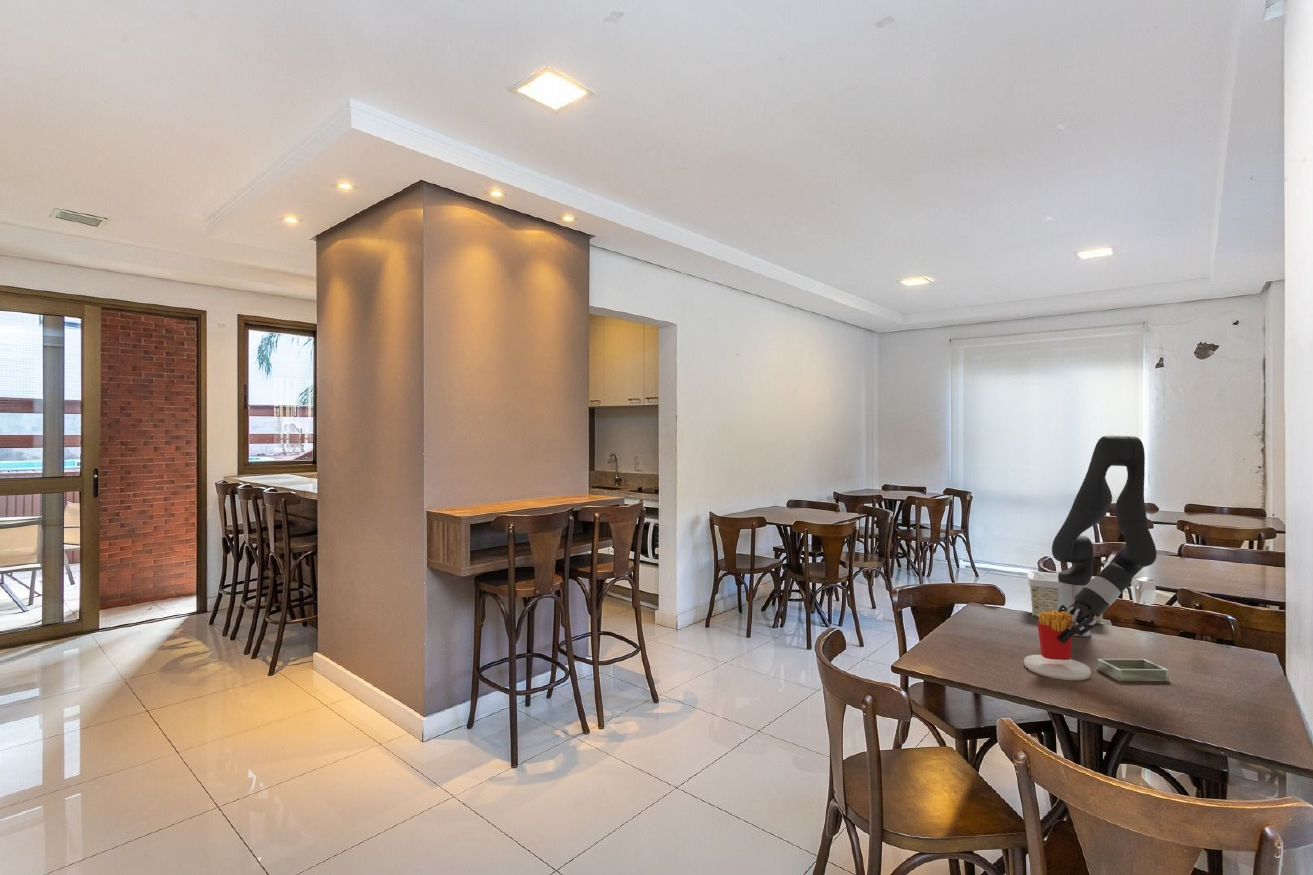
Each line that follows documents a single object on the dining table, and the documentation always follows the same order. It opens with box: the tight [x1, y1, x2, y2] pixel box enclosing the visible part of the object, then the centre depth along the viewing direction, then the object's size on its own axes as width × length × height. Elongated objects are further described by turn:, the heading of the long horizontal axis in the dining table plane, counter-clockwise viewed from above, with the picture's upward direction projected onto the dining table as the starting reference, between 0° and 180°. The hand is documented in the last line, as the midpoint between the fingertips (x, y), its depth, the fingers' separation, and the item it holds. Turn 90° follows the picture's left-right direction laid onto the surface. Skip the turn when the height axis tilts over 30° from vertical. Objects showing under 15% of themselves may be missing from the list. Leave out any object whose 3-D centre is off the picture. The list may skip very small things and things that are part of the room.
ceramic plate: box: [1023, 654, 1092, 681], centre depth 177 cm, size 16×16×2 cm
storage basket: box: [1027, 570, 1104, 624], centre depth 231 cm, size 24×16×15 cm
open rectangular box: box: [1096, 658, 1170, 682], centre depth 173 cm, size 9×14×3 cm, turn 89°
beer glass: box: [1130, 576, 1157, 605], centre depth 225 cm, size 7×7×15 cm
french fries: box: [1037, 611, 1073, 660], centre depth 178 cm, size 9×4×13 cm, turn 82°
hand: (1055, 638), depth 177 cm, fingers closed on french fries, 4 cm apart
